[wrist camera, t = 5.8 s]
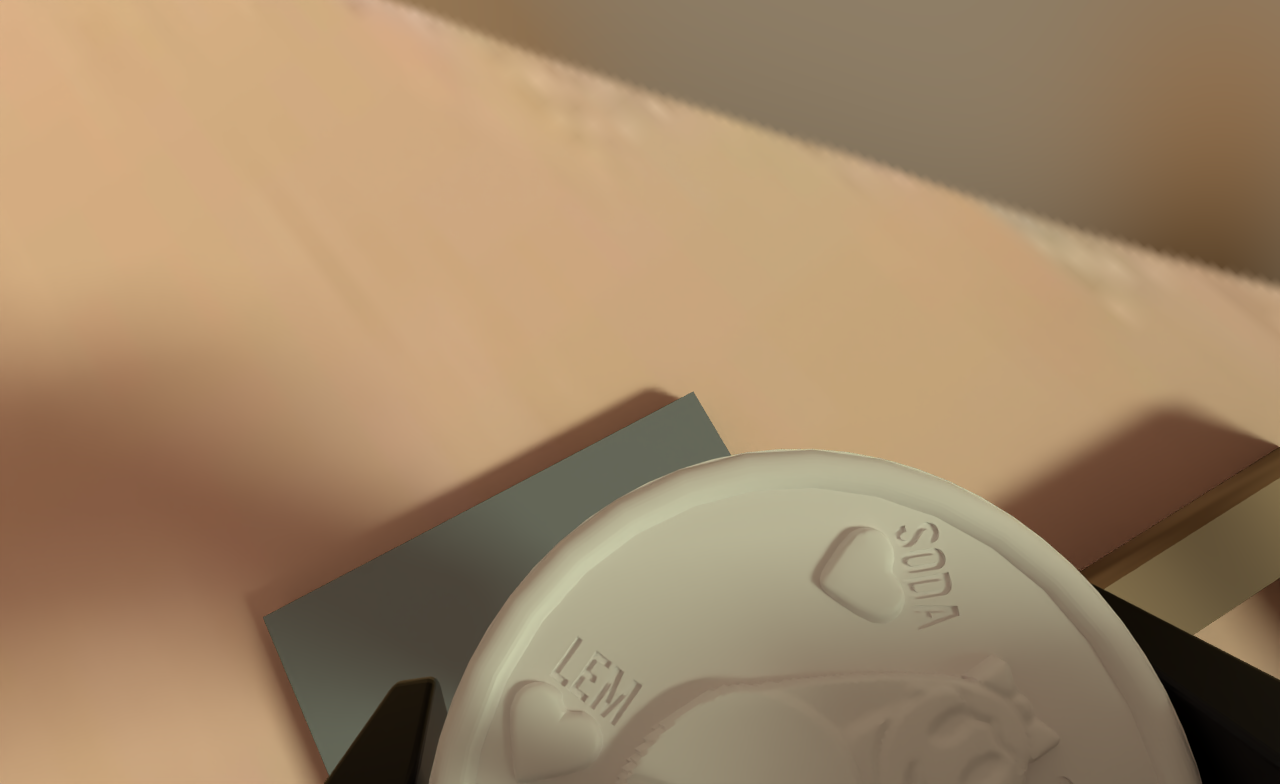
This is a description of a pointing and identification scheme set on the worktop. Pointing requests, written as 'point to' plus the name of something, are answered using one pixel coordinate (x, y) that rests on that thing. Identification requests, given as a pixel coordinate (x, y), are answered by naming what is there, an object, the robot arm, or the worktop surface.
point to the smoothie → (808, 644)
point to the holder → (1202, 552)
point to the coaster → (460, 577)
